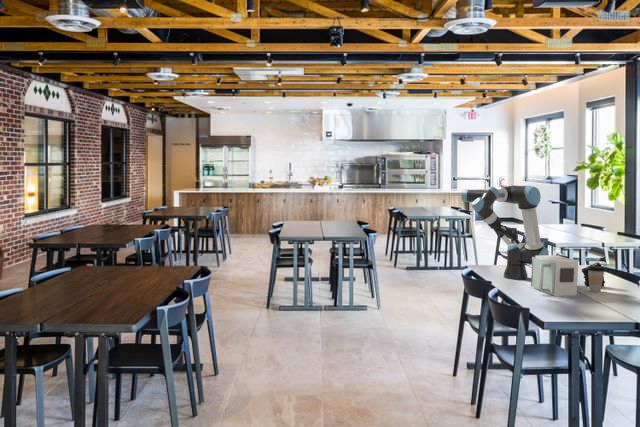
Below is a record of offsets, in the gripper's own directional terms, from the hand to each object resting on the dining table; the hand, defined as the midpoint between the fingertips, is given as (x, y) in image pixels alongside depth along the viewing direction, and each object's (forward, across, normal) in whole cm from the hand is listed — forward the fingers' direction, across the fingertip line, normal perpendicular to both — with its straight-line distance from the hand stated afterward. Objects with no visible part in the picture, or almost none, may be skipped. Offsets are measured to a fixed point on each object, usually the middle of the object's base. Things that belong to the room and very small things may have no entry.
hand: (515, 245), depth 326 cm
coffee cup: (+56, +3, +16) cm, 58 cm away
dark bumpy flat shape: (+61, -11, +22) cm, 66 cm away
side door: (+30, 0, -8) cm, 31 cm away
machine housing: (+38, 0, -1) cm, 38 cm away
